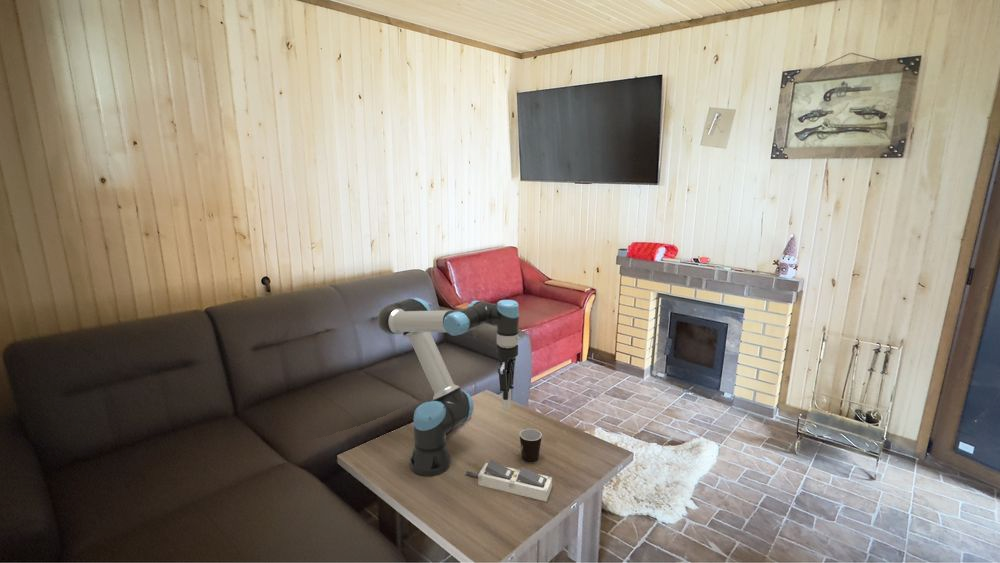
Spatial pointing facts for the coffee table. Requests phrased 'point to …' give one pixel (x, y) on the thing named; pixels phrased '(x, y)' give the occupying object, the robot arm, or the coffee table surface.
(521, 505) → the coffee table surface
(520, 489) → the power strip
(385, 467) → the coffee table surface
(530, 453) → the coffee mug
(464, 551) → the coffee table surface
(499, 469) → the rocker
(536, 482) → the rocker
